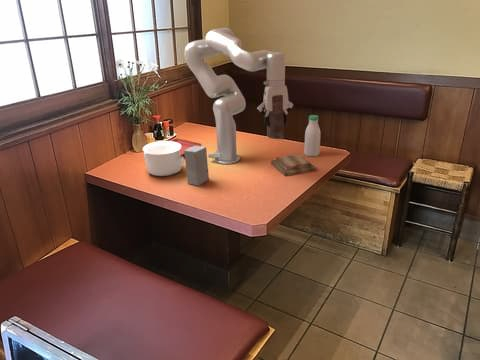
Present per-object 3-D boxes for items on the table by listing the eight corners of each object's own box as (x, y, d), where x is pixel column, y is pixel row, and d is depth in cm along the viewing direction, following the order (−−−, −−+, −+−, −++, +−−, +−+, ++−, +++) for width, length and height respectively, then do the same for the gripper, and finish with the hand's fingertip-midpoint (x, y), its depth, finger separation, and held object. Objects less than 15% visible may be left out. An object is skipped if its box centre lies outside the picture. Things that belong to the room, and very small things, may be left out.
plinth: (284, 176, 188) (285, 169, 186) (270, 163, 202) (270, 156, 200) (316, 170, 193) (316, 163, 191) (300, 158, 206) (300, 151, 205)
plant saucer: (202, 149, 223) (202, 143, 222) (181, 160, 209) (180, 154, 208) (177, 143, 232) (176, 137, 231) (154, 154, 218) (154, 148, 217)
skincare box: (198, 186, 180) (196, 152, 174) (185, 183, 184) (182, 150, 177) (210, 179, 187) (207, 146, 180) (197, 176, 190) (194, 143, 184)
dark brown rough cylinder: (271, 142, 180) (272, 96, 171) (263, 137, 186) (263, 93, 177) (286, 139, 182) (288, 94, 174) (278, 134, 188) (279, 90, 180)
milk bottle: (319, 157, 207) (321, 118, 198) (303, 156, 208) (305, 118, 200) (319, 151, 214) (321, 114, 205) (304, 151, 215) (306, 113, 207)
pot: (134, 174, 194) (130, 150, 189) (157, 161, 208) (154, 138, 203) (173, 182, 185) (170, 157, 180) (194, 168, 199) (192, 144, 194)
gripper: (259, 86, 168) (259, 128, 176) (298, 83, 173) (297, 123, 180) (253, 83, 175) (253, 123, 182) (291, 79, 179) (290, 119, 187)
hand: (275, 123), depth 181 cm, fingers closed on dark brown rough cylinder, 7 cm apart
